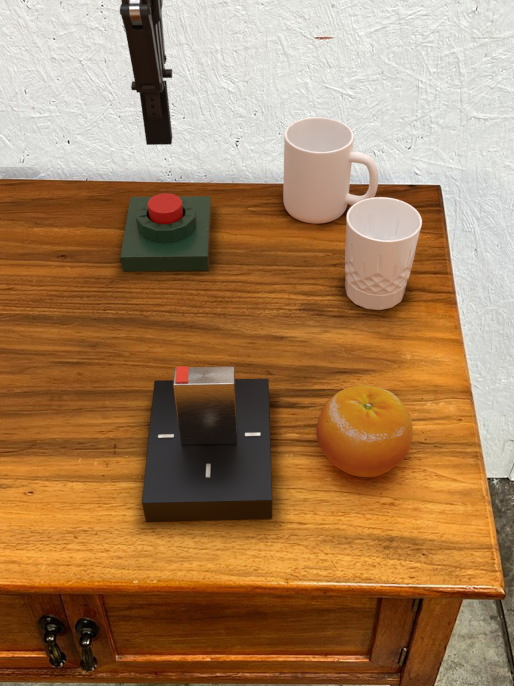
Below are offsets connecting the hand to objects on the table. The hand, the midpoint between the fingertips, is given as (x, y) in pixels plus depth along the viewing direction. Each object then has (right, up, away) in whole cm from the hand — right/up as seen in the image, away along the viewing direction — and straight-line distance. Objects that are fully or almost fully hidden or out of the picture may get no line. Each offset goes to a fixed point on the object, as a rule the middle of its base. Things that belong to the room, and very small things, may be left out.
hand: (159, 140), depth 85 cm
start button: (0, -7, +7) cm, 10 cm away
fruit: (+21, -33, -12) cm, 41 cm away
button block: (0, -9, +10) cm, 13 cm away
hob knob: (+7, -31, -15) cm, 35 cm away
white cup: (+24, -16, +4) cm, 29 cm away
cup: (+19, -5, +15) cm, 25 cm away
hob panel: (+7, -33, -12) cm, 36 cm away
